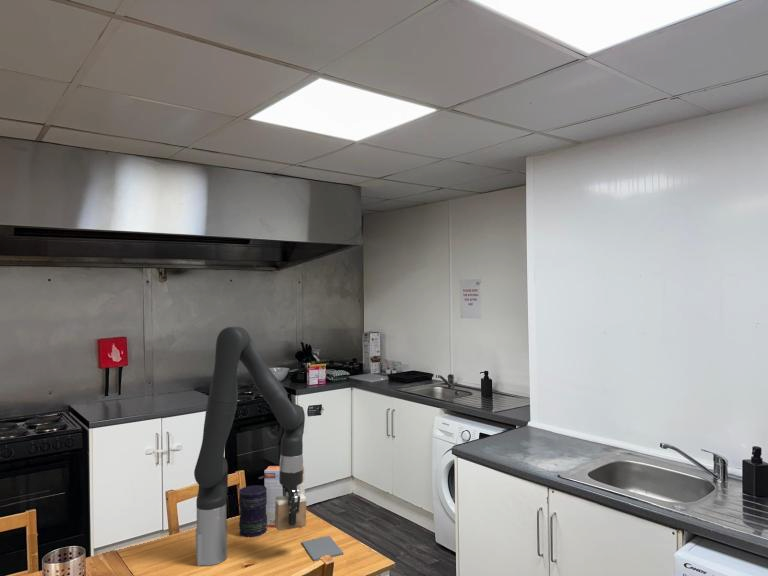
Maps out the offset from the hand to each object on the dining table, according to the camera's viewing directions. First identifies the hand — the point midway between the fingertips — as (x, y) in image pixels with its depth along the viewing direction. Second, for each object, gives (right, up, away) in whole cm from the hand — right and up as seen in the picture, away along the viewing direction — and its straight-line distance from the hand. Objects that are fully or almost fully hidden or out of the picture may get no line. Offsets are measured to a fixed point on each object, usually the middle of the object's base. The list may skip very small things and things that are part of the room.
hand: (290, 521), depth 168 cm
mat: (+10, -12, +6) cm, 16 cm away
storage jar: (-17, -13, +20) cm, 29 cm away
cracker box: (-7, -13, +26) cm, 30 cm away
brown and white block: (0, -1, 0) cm, 1 cm away
